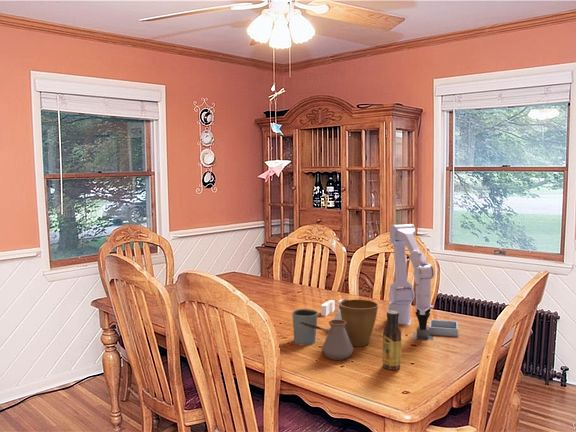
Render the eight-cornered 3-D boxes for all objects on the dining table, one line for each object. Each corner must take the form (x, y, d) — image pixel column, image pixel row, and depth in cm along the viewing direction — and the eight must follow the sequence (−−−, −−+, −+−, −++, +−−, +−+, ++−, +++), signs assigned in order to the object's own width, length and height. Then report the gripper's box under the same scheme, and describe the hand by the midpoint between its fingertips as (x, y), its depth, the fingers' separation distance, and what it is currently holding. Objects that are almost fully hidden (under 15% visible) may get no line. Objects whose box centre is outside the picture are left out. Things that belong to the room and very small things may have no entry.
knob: (416, 337, 212) (416, 320, 211) (417, 334, 216) (417, 317, 215) (428, 338, 210) (428, 321, 210) (428, 335, 215) (429, 318, 214)
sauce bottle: (380, 364, 185) (380, 309, 184) (397, 363, 186) (398, 308, 184) (385, 371, 179) (385, 314, 177) (403, 370, 179) (403, 313, 178)
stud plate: (412, 340, 211) (412, 332, 210) (413, 334, 218) (413, 326, 218) (432, 341, 208) (432, 334, 208) (433, 335, 216) (433, 328, 216)
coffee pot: (343, 348, 202) (343, 310, 200) (359, 358, 191) (359, 318, 190) (292, 357, 193) (292, 317, 192) (306, 368, 183) (306, 326, 181)
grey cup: (288, 339, 213) (288, 310, 212) (311, 336, 217) (310, 307, 216) (299, 347, 204) (298, 317, 203) (322, 343, 208) (322, 313, 207)
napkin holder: (323, 319, 243) (323, 306, 243) (309, 313, 253) (309, 301, 252) (349, 313, 251) (349, 302, 250) (335, 308, 261) (334, 297, 260)
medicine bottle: (355, 326, 230) (355, 299, 229) (350, 330, 224) (350, 303, 223) (339, 324, 233) (339, 297, 232) (334, 328, 227) (334, 301, 226)
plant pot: (373, 351, 198) (373, 310, 197) (335, 347, 203) (335, 306, 202) (381, 339, 212) (381, 300, 211) (344, 335, 217) (344, 297, 216)
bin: (429, 335, 216) (429, 327, 215) (430, 327, 226) (430, 319, 226) (457, 337, 213) (458, 329, 212) (457, 329, 223) (457, 321, 223)
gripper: (433, 299, 203) (432, 333, 205) (434, 291, 217) (433, 323, 219) (414, 298, 205) (414, 332, 207) (416, 290, 219) (416, 321, 221)
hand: (422, 327), depth 213 cm, fingers open, 4 cm apart
